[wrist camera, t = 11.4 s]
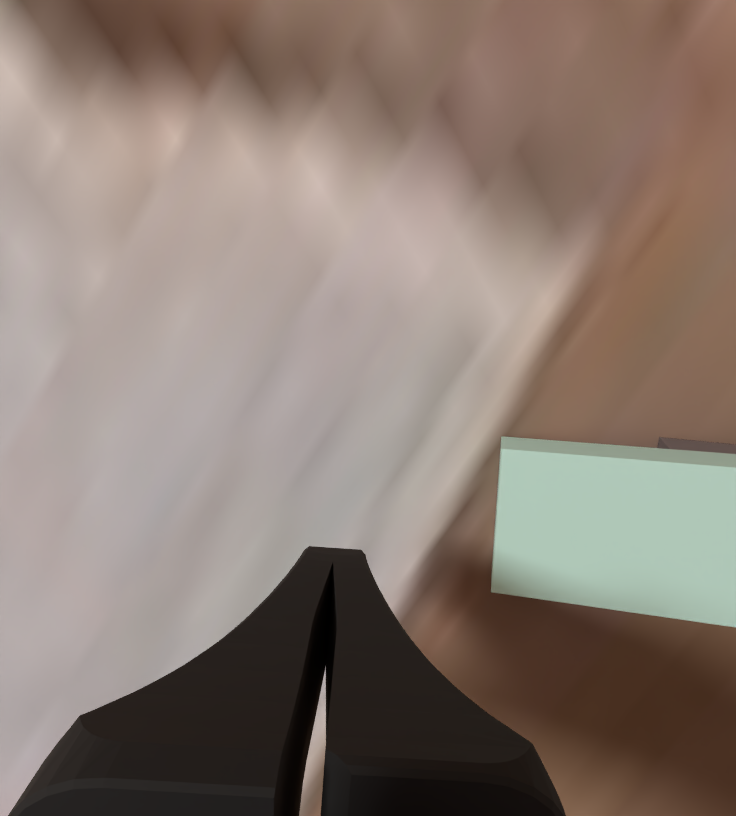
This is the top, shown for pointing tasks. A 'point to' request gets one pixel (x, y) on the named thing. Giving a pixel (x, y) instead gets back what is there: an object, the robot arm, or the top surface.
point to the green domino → (617, 528)
